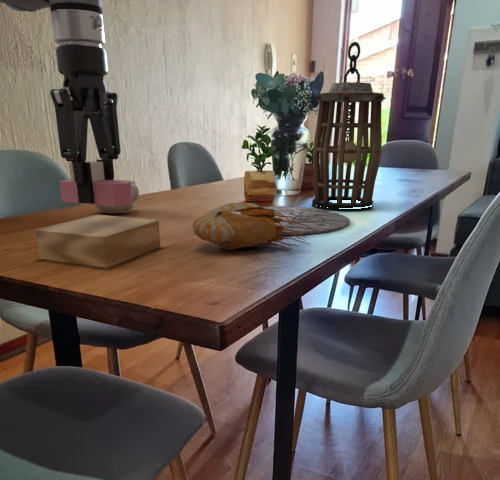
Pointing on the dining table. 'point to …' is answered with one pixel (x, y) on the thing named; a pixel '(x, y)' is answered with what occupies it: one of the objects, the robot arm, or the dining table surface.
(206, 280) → the dining table surface
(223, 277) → the dining table surface
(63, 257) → the block
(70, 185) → the pink-and-white stacked brick
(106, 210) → the teacup
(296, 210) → the grey-brown round placemat
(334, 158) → the lantern
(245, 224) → the nautilus
